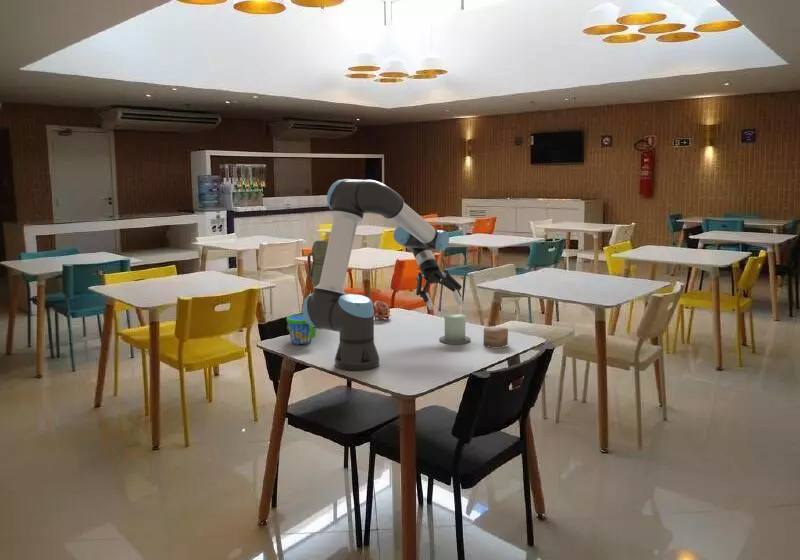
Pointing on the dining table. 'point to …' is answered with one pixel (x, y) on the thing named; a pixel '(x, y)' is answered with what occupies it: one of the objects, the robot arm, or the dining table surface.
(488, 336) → the brown wooden block
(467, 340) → the mat
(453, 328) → the cap
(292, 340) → the snack cup
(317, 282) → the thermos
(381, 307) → the flower
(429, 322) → the dining table surface
